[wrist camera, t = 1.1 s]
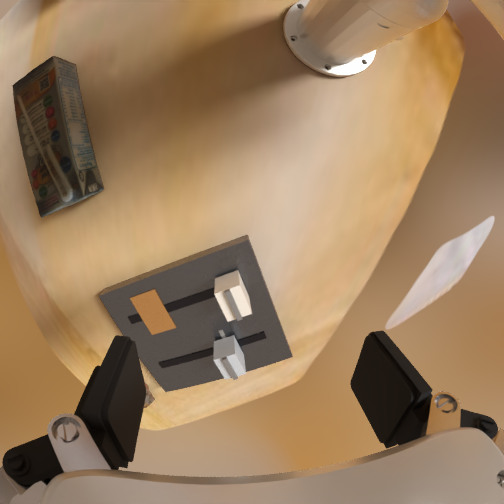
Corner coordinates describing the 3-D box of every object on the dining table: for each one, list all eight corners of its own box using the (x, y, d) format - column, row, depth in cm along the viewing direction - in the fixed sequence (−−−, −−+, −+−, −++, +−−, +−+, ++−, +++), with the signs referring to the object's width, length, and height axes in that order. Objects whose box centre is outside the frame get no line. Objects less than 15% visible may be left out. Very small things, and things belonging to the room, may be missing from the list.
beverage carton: (61, 209, 32) (35, 222, 26) (35, 88, 25) (8, 83, 19) (106, 190, 32) (84, 199, 26) (78, 62, 25) (54, 50, 19)
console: (247, 234, 35) (248, 240, 33) (290, 348, 43) (292, 357, 41) (103, 289, 36) (98, 296, 34) (167, 383, 43) (165, 392, 41)
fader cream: (238, 270, 34) (240, 287, 30) (249, 296, 36) (252, 316, 32) (215, 278, 34) (214, 296, 30) (227, 304, 36) (227, 324, 32)
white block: (233, 335, 38) (235, 356, 33) (243, 354, 39) (246, 376, 35) (213, 341, 38) (213, 362, 34) (224, 360, 39) (225, 382, 35)
